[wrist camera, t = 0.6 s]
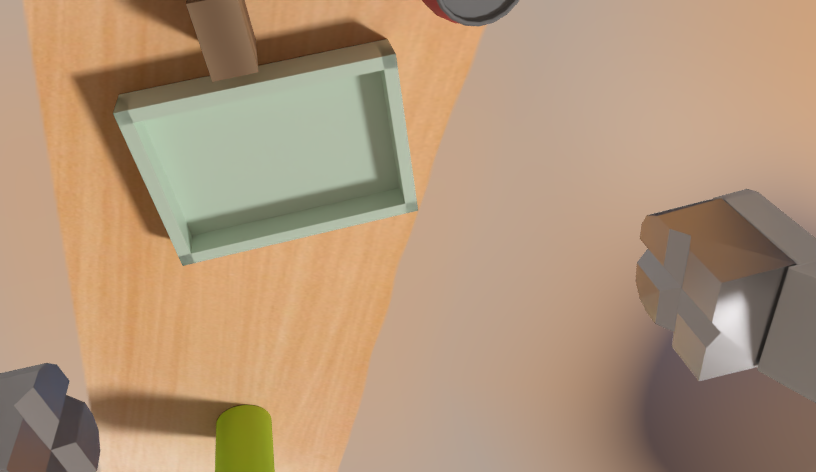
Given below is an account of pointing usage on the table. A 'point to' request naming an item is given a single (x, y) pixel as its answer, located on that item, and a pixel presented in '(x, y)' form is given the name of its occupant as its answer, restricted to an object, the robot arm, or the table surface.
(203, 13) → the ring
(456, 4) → the beer can
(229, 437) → the soap dispenser
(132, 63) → the table surface
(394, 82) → the tray
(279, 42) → the table surface
